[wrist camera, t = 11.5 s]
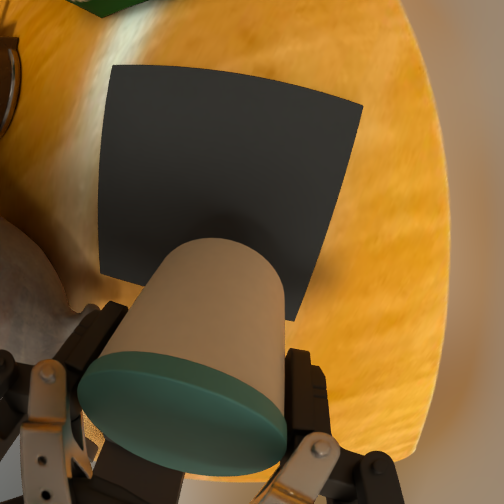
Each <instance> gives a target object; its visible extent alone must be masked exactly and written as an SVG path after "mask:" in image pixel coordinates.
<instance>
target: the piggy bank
mask: <svg viewBox="0 0 504 504" xmlns="http://www.w3.org/2000/svg"><path fill="white" fill-rule="evenodd" d="M95 309H97V310H100V309H99V307H98V306H96V305H95V304H87V305H86V306H85V308H84V310H83V311H82V312H81V313H76V312H74V311H73V310H72V309H70V307H69V304H68V300H67V297H66V294H65V291H64V288H63V285H62V283H61V281H60V279H59V277H58V275H57V273H56V271H55V269H54V268H53V266H52V264H51V263H50V261H49V260H48V258H47V256H46V255H45V253H44V252H43V251H42V250H41V248H40V247H39V246H38V245H37V244H36V243H35V242H34V241H33V240H31V239H30V238H29V237H28V236H27V235H26V234H24V233H23V232H22V231H21V230H20V229H19V228H17V227H16V226H14V225H13V224H11V223H10V222H8V221H7V220H5V219H4V218H3V217H1V216H0V349H3V350H7V351H9V352H10V353H11V354H12V355H13V357H14V359H15V361H16V362H19V363H24V364H30V365H35V364H37V363H38V362H39V361H41V360H45V359H52V358H53V357H54V356H55V355H56V353H57V352H58V350H59V349H60V348H61V346H62V345H63V344H64V342H65V341H66V340H67V338H68V337H69V336H70V334H71V333H73V331H74V329H75V328H76V327H77V325H79V323H80V322H81V320H82V319H83V318H84V317H85V315H87V314H88V313H90V312H92V311H94V310H95Z"/></svg>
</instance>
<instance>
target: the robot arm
mask: <svg viewBox="0 0 504 504" xmlns="http://www.w3.org/2000/svg"><path fill="white" fill-rule="evenodd" d="M17 41H18V37H9V36H0V138H1V137H2V136H3V134H4V133H5V131H6V129H7V127H8V125H9V123H10V121H11V118H12V116H13V113H14V109H15V106H16V102H17V97H18V92H19V84H20V62H19V57H18V54H17V51H16V45H17ZM127 312H128V307H127V306H125V305H121V304H118V303H115V302H112V301H109V302H108V303H107V304H106V305H105V307H104V308H103V309H102V310H101V311H100V310H97V309H95V310H94V311H92V312H90V313H88V314H87V315H85V317H84V318H83V319H82V320H81V322H80V323H79V325H77V327H76V328H75V329H74V331H73V333H71V334H70V336H69V337H68V338H67V340H66V341H65V342H64V344H63V345H62V346H61V348H60V349H59V350H58V352H57V353H56V355H55V356H54V357H53V358H52V359H45V360H41V361H39V362H38V363H37V364H35V365H30V364H24V363H19V362H16V361H15V359H14V357H13V355H12V354H11V353H10V352H9V351H7V350H3V349H0V399H1V398H2V397H3V398H2V399H1V400H0V461H1V460H2V458H3V457H4V455H5V454H6V452H7V451H8V449H9V448H10V446H11V445H12V444H13V442H14V441H15V439H16V438H17V436H18V435H19V434H20V461H21V478H22V488H23V495H22V496H19V497H16V498H13V499H10V500H7V501H4V502H0V504H151V503H149V502H147V501H145V500H143V499H142V498H140V497H138V496H137V495H135V494H133V493H132V492H130V491H129V490H127V489H125V488H124V487H122V486H120V485H117V484H115V483H112V482H110V481H108V480H105V479H103V478H101V477H98V476H96V475H94V474H93V471H92V467H91V464H90V461H89V458H88V455H87V449H86V441H85V432H84V422H83V412H82V407H81V405H80V403H79V400H78V395H77V388H78V384H79V382H80V380H81V378H82V377H83V375H84V374H85V372H86V370H87V369H88V367H89V365H90V364H91V363H92V362H93V361H94V360H96V359H98V357H99V356H100V354H101V353H102V351H103V349H104V348H105V346H106V345H107V343H108V341H109V340H110V338H111V337H112V335H113V334H114V332H115V331H116V329H117V327H118V326H119V324H120V323H121V321H122V320H123V318H124V317H125V315H126V314H127ZM284 418H285V421H286V424H287V449H286V452H285V455H284V456H283V458H282V459H281V460H280V465H279V466H278V468H277V469H276V470H275V472H274V473H273V474H272V476H271V477H270V478H269V480H268V481H267V482H266V483H265V485H264V486H263V487H262V489H261V490H260V491H259V492H258V494H257V495H256V496H255V497H254V498H253V500H252V501H251V502H250V503H249V504H314V502H315V500H316V498H317V496H318V495H322V496H325V497H326V500H327V504H404V499H403V495H402V491H401V487H400V483H399V480H398V476H397V472H396V469H395V465H394V462H393V460H392V459H391V457H390V456H389V455H387V454H386V453H384V452H381V451H372V452H369V453H367V454H366V455H365V456H364V455H360V454H357V453H354V452H351V451H348V450H345V449H343V448H342V447H340V446H339V444H338V442H337V441H336V440H335V438H333V437H332V434H331V427H330V417H329V406H328V399H327V390H326V379H325V376H324V374H323V372H322V370H321V369H320V367H319V366H315V365H311V360H310V352H309V351H305V350H299V349H293V348H290V349H289V351H288V353H287V355H286V357H285V392H284Z"/></svg>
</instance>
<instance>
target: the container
mask: <svg viewBox="0 0 504 504" xmlns="http://www.w3.org/2000/svg"><path fill="white" fill-rule="evenodd" d="M284 392H285V299H284V290H283V285H282V283H281V280H280V278H279V276H278V274H277V272H276V271H275V269H274V268H273V267H272V265H271V264H270V263H269V262H268V261H267V260H266V259H265V258H264V257H263V256H261V255H260V254H259V253H257V252H256V251H255V250H253V249H251V248H249V247H248V246H245V245H243V244H241V243H238V242H235V241H232V240H227V239H221V238H202V239H197V240H192V241H190V242H187V243H184V244H182V245H180V246H179V247H177V248H176V249H174V250H173V251H171V252H170V253H169V254H168V256H167V257H166V258H165V259H164V260H163V262H162V263H161V265H160V266H159V267H158V269H157V270H156V272H155V273H154V274H153V276H152V277H151V279H150V280H149V282H148V283H147V284H146V286H145V287H144V289H143V290H142V292H141V293H140V295H139V296H138V297H137V299H136V300H135V302H134V303H133V305H132V306H131V308H130V309H129V311H128V312H127V314H126V315H125V317H124V318H123V320H122V321H121V323H120V324H119V326H118V327H117V329H116V331H115V332H114V334H113V335H112V337H111V338H110V340H109V341H108V343H107V345H106V346H105V348H104V349H103V351H102V353H101V354H100V356H99V357H98V359H96V360H94V361H93V362H92V363H91V364H90V365H89V367H88V369H87V370H86V372H85V374H84V375H83V377H82V378H81V380H80V382H79V384H78V388H77V395H78V400H79V403H80V405H81V407H82V409H83V411H84V413H85V414H86V415H87V417H88V418H89V419H90V420H91V422H92V423H93V424H94V425H95V426H96V427H97V428H98V429H99V430H100V431H101V432H102V433H104V434H105V435H106V436H107V437H108V438H110V439H111V440H113V441H114V442H115V443H117V444H118V445H120V446H121V447H123V448H125V449H126V450H128V451H130V452H132V453H133V454H135V455H137V456H140V457H142V458H144V459H146V460H148V461H151V462H153V463H156V464H159V465H161V466H164V467H167V468H171V469H174V470H178V471H182V472H187V473H192V474H198V475H206V476H241V475H248V474H253V473H257V472H260V471H263V470H266V469H268V468H270V467H272V466H274V465H275V464H277V463H278V462H279V461H280V460H281V459H282V458H283V456H284V455H285V452H286V449H287V424H286V421H285V418H284Z"/></svg>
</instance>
